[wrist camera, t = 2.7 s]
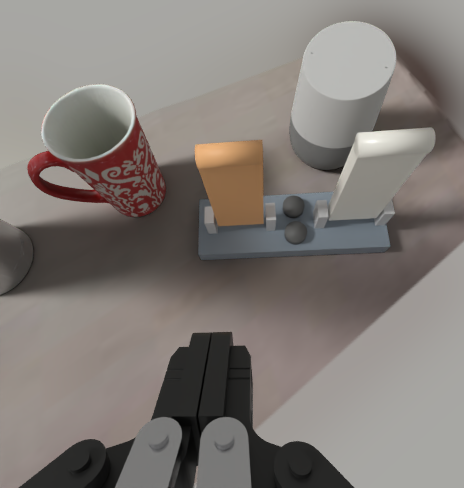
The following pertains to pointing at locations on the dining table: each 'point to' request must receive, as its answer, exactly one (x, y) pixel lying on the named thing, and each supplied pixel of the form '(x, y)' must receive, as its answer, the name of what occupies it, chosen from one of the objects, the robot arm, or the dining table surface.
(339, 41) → the smart speaker
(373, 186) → the cream paddle
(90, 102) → the mug
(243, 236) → the paddle holder
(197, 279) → the dining table surface
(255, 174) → the orange paddle
